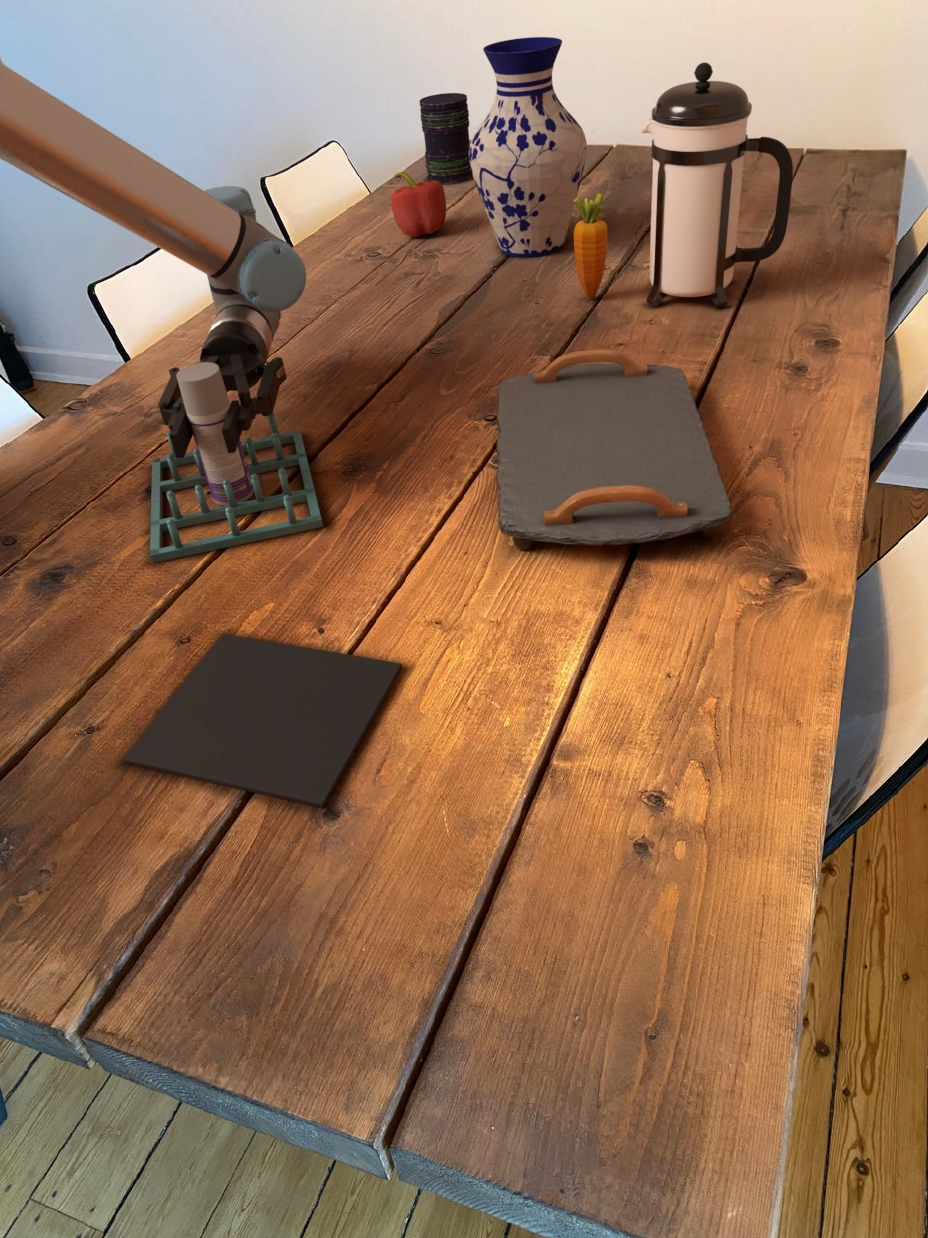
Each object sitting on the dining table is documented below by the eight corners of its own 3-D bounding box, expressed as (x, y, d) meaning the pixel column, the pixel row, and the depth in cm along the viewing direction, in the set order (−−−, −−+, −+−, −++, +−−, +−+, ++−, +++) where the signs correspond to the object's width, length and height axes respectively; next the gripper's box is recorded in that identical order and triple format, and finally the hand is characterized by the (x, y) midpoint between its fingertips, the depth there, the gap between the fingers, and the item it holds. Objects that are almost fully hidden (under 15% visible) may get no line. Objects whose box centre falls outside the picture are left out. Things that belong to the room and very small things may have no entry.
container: (222, 482, 110) (186, 361, 100) (260, 484, 109) (227, 361, 99) (206, 505, 106) (167, 381, 97) (244, 506, 105) (209, 381, 96)
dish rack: (152, 563, 98) (139, 528, 96) (154, 466, 114) (143, 434, 112) (323, 526, 101) (315, 491, 98) (301, 437, 117) (294, 404, 114)
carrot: (568, 302, 142) (565, 197, 132) (584, 291, 145) (583, 187, 135) (597, 307, 139) (597, 200, 130) (613, 295, 142) (614, 190, 133)
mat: (124, 763, 76) (122, 759, 76) (224, 637, 88) (222, 633, 88) (323, 808, 71) (322, 804, 71) (402, 667, 82) (401, 663, 82)
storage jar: (463, 184, 195) (456, 103, 185) (420, 184, 198) (411, 104, 188) (480, 170, 202) (474, 92, 192) (437, 170, 205) (430, 93, 195)
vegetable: (380, 235, 174) (372, 178, 168) (423, 220, 179) (416, 163, 173) (419, 246, 167) (411, 186, 161) (461, 229, 172) (456, 171, 166)
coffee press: (680, 324, 132) (693, 81, 113) (619, 290, 143) (622, 64, 124) (782, 295, 136) (811, 57, 117) (715, 264, 148) (732, 43, 129)
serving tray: (740, 557, 90) (747, 502, 86) (497, 572, 92) (492, 518, 88) (679, 377, 120) (682, 330, 116) (496, 390, 121) (493, 344, 117)
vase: (531, 221, 173) (522, 29, 154) (610, 239, 161) (612, 35, 142) (454, 252, 164) (434, 53, 144) (532, 274, 152) (523, 61, 133)
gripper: (314, 371, 117) (295, 467, 99) (174, 385, 118) (129, 483, 100) (302, 312, 113) (280, 401, 95) (156, 327, 113) (105, 419, 95)
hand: (202, 443), depth 97 cm, fingers closed on container, 5 cm apart
